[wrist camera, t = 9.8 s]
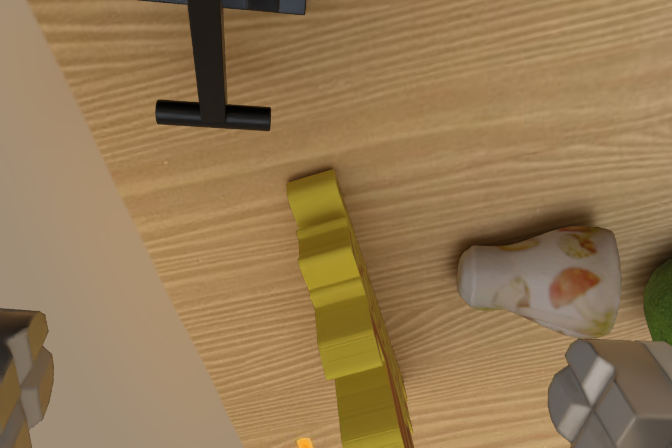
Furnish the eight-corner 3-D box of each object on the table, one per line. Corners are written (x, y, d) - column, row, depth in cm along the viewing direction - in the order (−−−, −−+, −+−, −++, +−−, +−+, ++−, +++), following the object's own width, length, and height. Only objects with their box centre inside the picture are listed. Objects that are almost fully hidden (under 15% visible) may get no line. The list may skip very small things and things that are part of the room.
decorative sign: (286, 177, 35) (292, 366, 22) (332, 164, 35) (364, 347, 22) (367, 390, 46) (402, 595, 34) (403, 381, 46) (450, 584, 33)
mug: (436, 219, 38) (567, 271, 30) (537, 194, 43) (673, 233, 34) (432, 321, 40) (552, 395, 32) (528, 287, 45) (653, 343, 37)
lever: (270, 105, 27) (269, 148, 26) (161, 97, 27) (155, 141, 26) (286, -149, 17) (285, -93, 16) (106, -171, 16) (92, -116, 15)
